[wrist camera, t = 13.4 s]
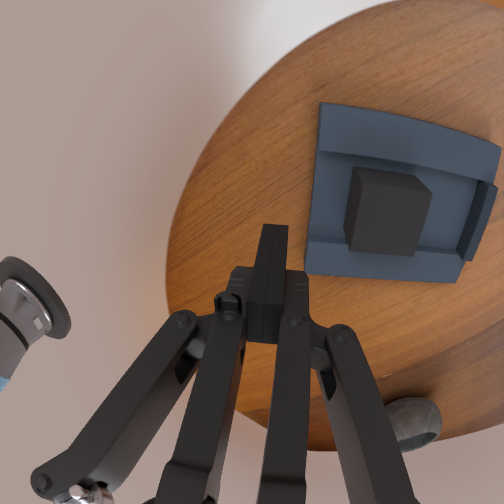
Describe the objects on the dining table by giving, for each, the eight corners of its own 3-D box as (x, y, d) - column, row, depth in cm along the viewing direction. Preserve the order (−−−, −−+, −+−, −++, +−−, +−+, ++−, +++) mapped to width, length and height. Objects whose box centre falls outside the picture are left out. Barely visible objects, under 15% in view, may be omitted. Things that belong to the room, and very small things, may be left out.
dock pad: (303, 261, 30) (304, 280, 27) (319, 101, 21) (323, 105, 18) (449, 272, 28) (458, 289, 25) (490, 142, 19) (507, 151, 16)
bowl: (361, 399, 45) (364, 447, 37) (436, 376, 40) (447, 423, 32) (373, 422, 52) (375, 460, 44) (434, 404, 47) (441, 442, 38)
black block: (342, 227, 26) (349, 252, 22) (352, 165, 22) (363, 182, 19) (400, 233, 25) (413, 257, 22) (415, 175, 22) (433, 193, 18)
